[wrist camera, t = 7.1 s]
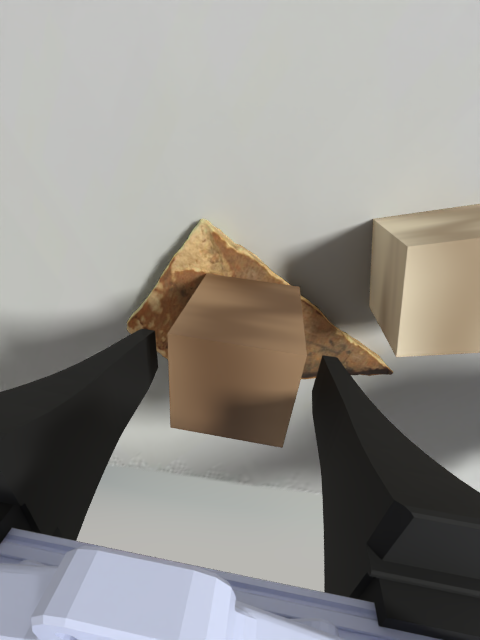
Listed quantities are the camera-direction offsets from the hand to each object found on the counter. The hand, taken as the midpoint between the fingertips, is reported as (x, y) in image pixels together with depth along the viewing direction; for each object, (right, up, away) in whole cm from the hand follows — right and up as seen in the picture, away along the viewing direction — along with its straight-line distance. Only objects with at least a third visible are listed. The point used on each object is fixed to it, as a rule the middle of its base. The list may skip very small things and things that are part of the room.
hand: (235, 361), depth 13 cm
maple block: (+9, +5, +1) cm, 10 cm away
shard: (+1, +3, +4) cm, 6 cm away
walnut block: (+1, +2, +3) cm, 3 cm away
